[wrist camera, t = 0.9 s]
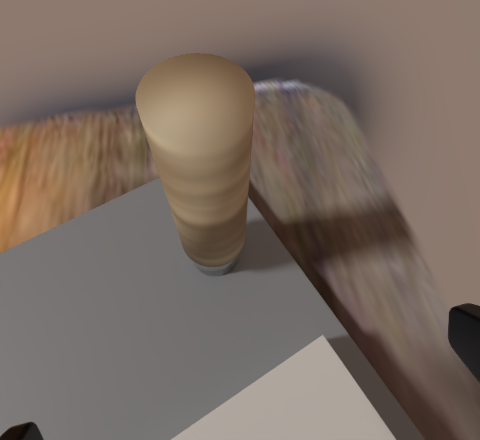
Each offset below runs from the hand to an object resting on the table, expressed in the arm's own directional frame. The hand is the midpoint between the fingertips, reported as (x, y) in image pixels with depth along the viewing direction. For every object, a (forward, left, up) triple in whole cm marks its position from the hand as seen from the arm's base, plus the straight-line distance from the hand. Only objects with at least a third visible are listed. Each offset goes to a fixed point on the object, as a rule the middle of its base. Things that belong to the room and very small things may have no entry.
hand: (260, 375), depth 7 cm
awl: (+8, -3, -13) cm, 15 cm away
